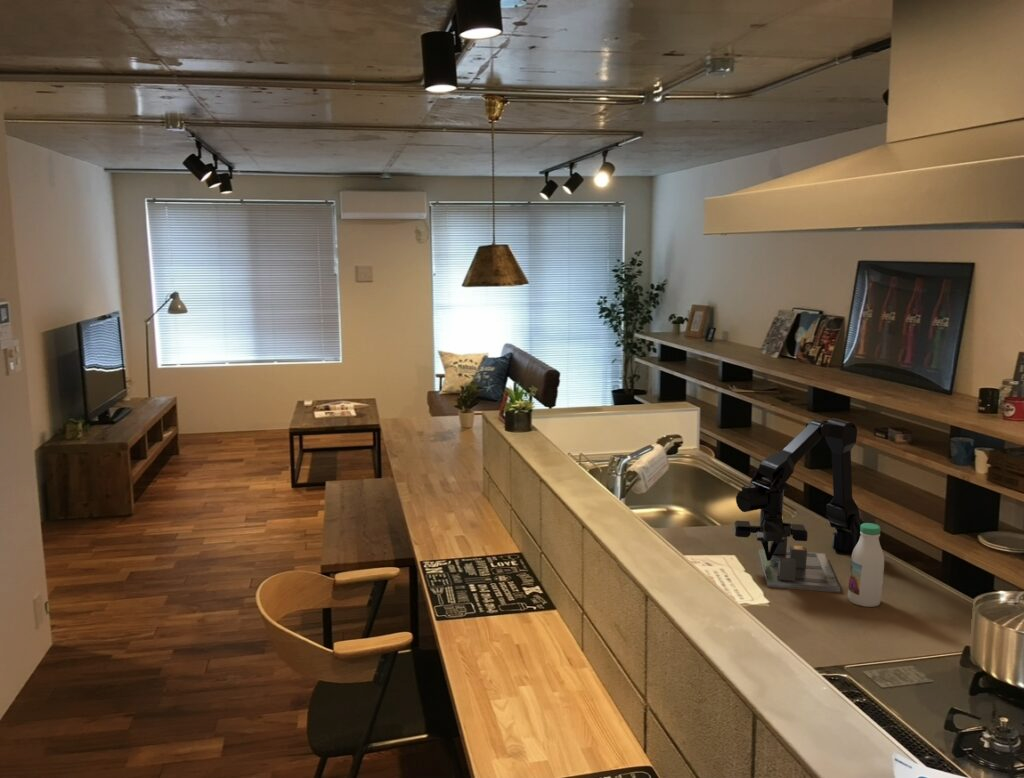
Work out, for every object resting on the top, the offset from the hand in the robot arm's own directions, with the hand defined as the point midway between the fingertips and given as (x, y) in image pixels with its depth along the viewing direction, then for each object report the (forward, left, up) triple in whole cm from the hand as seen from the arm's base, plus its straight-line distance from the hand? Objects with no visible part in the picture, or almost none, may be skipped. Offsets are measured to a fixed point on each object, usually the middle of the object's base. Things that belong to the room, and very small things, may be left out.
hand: (768, 560), depth 230 cm
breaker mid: (-8, 0, -1) cm, 8 cm away
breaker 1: (-4, -9, -1) cm, 10 cm away
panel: (-8, +1, -3) cm, 8 cm away
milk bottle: (-22, +16, -3) cm, 27 cm away
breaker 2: (-4, +9, -1) cm, 10 cm away
